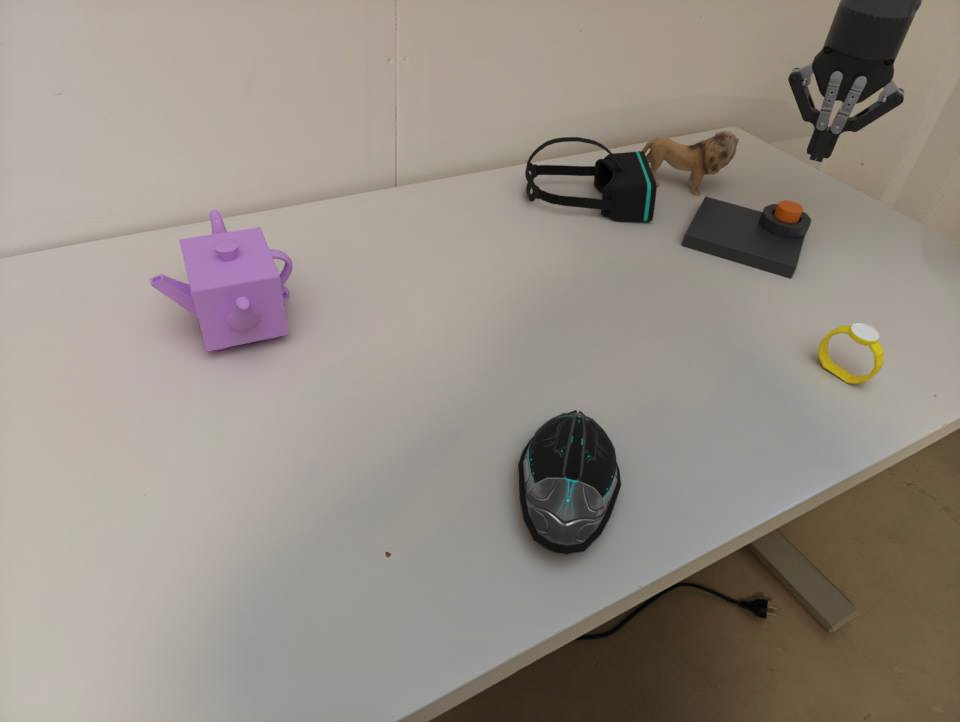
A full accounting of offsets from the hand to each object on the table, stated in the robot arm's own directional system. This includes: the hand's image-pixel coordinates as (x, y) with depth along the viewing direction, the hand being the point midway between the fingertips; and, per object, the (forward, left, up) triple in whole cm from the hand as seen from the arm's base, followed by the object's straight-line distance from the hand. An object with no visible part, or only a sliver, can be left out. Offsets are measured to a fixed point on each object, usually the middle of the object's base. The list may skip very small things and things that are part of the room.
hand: (815, 158), depth 84 cm
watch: (-9, +24, -12) cm, 29 cm away
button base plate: (+5, +2, -12) cm, 13 cm away
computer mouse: (+11, +53, -12) cm, 55 cm away
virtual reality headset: (+27, +4, -12) cm, 30 cm away
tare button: (+1, -1, -9) cm, 9 cm away
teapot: (+49, +50, -12) cm, 71 cm away
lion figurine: (+17, -9, -12) cm, 22 cm away
